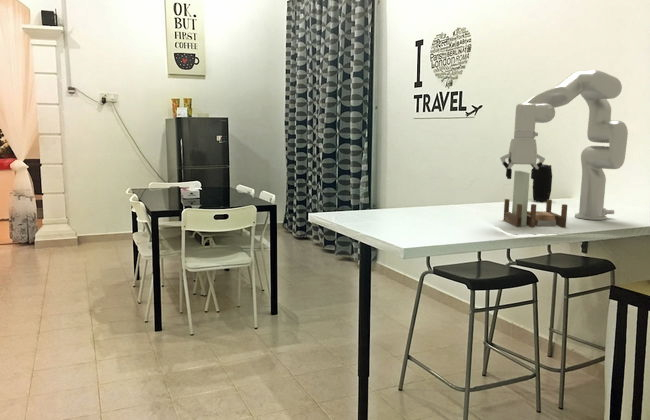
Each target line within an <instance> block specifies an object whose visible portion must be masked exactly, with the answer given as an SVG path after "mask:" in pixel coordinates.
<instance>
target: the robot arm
mask: <svg viewBox="0 0 650 420" xmlns="http://www.w3.org/2000/svg"><path fill="white" fill-rule="evenodd" d="M622 89H623V85H622V83H621V81H620V80H619V78H617V77H616V76H614V75H611V74H608V72H607V73H606V72H604V71H601V70H598V69H590V70H578V71H574V72H573V73H571V74H570V75H569V76H567V77H566V78H565V79H563V80H562V81H561V82H559V83H558V84H557V85H555V86H554V87H551V88H550V89H547V90H544V91H543V92H540V93H538V94H536V95H533V96H532V97H531V98H529V99H528V100H527V101H525V102H524V103H517V104H516V106H515V116H514V129H513V130H514V132H513V138H511V140H510V142H509V149H508V153H507V154H504V155H502V156H500V161H501V163H502V164H501V165H502V166H504V168H505V169H506V171H505V176H506V179H507V180H511V179H512V176H513V175H512V174H513V173H512V172H513V170H512V167H513V166H514V165H530V166H531V168H532V169H531V171H530V175H531V176H530V179H531V180H533V179H534V180H535V179H536V177H537V169H539V167H540V166H541V165H542V164H544V162H545V160H546V158H545V157H543V156H542V155H539V154H538V149H537V147H538V146H537V140H536V137H538V136H539V133H538V132H537V131H535V129H536V123H537V124H538V123H539V124H540V123H541V124H542V123H543V124H546V123H549V122H551V121H552V120H554V118H555V115H556V109H555V108H559V107H563V106H566V105H568V104H569V103H571V102H572V101H573V100H574V99H576V98H577V97H578V96H579V95H580V96H581V97H582V98H583V100H584V101H585V102H586V104H587V106H588V110H589V112H588V113H589V114H588V121H587V122H588V124H587V131H586V132H587V136H586V137H587V139H588V141H590V142H592V143H597V144H608V145H609V146H606V145H589V146H587V147H585V148H583V150H582V151H581V154H580V161H581V183H580V184H581V185H580V194H579V195H580V196H579V209H578V212H577V213H575V214H574V217H575V218H577V219H583V220H589V221H591V220H592V221H604V220H607V215H614V214H615V209H606V208H604V205H605V194H606V193H605V192H606V184H607V183H606V182H607V178H606V175H605V172H604V169H605V170H619V169H620V168H622V167H623V165H624V164H625V160H626V152H627V143H628V136H629V135H628V134H629V133H628V127H627V124H626V123H624V122H625V121H622V120H614V119H613V120H611V119H612V107H611V104H610V102H609V101H608V100H612V99H616V98H617V97H619V95H620V94H621V92H622ZM537 159H538V160H539V161H538V162H537ZM506 160H507V161H506Z"/></svg>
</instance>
